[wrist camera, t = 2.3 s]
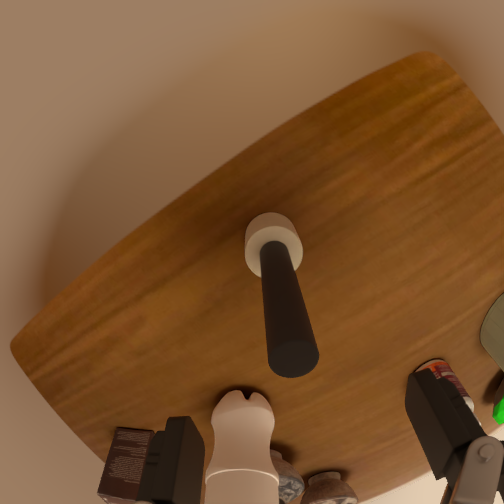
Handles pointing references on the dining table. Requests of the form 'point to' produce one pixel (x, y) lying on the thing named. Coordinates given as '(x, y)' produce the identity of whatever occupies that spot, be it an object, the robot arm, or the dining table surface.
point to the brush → (281, 294)
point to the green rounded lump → (499, 404)
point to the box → (124, 466)
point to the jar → (494, 332)
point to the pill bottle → (444, 370)
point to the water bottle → (242, 452)
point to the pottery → (321, 485)
